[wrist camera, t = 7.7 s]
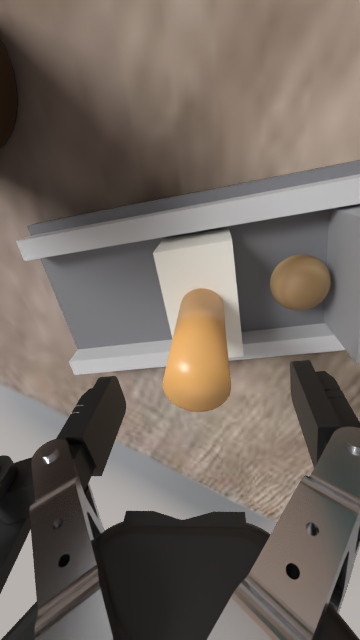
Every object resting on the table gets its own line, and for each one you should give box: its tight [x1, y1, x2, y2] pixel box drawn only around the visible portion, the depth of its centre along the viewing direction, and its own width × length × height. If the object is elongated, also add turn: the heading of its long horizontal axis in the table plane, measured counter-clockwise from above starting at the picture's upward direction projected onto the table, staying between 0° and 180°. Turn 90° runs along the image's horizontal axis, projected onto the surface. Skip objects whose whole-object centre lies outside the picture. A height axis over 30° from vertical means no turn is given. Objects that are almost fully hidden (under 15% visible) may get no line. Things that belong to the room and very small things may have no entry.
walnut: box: [270, 254, 331, 311], centre depth 20 cm, size 4×4×4 cm
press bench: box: [16, 160, 360, 375], centre depth 21 cm, size 26×14×8 cm, turn 100°
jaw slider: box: [153, 228, 244, 412], centre depth 18 cm, size 5×9×12 cm, turn 10°
